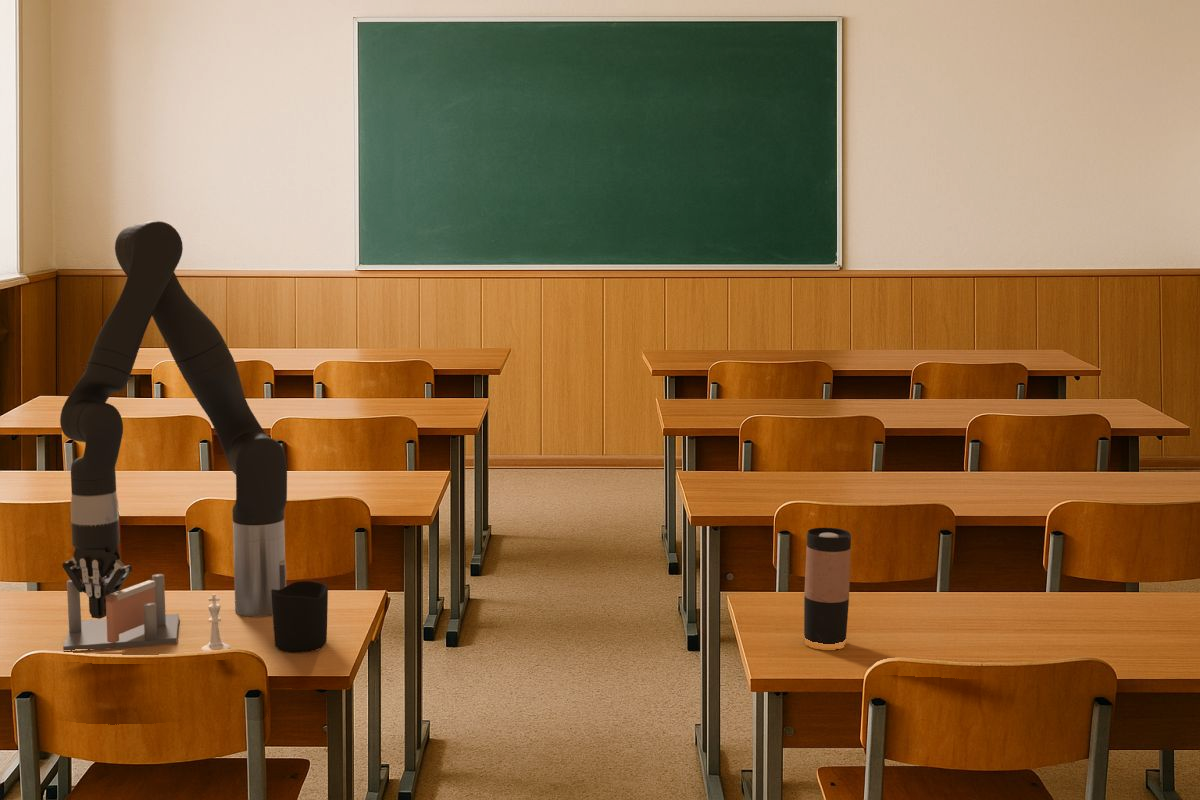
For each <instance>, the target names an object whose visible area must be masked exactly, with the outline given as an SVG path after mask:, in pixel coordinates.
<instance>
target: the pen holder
mask: <svg viewBox="0 0 1200 800" xmlns="http://www.w3.org/2000/svg"><path fill="white" fill-rule="evenodd" d="M271 595H272V611H273V615H272V623H273V624H272V625H273V637H274V638H273V639H274V646H275V647H276V648H277V650H278V651H281V652H284V653H291V654H301V653H309V652H314V651H317V650H320V649H322V648H323V647H325V645H326V644H327V639H328V637H327V636H328V611H329V610H328V607H329V606H328V603H329V602H328V601H329V600H328V598H329V588H328V585H326V584H325V583H322V582H319V581H313V580H311V581H309V580H301V581H295V582H292V583H289V584H287V585H286V587H284V588H283V589H280V590H275V589H272V590H271Z"/></svg>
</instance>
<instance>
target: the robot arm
mask: <svg viewBox="0 0 1200 800" xmlns="http://www.w3.org/2000/svg"><path fill="white" fill-rule="evenodd" d="M183 246H184V245H183V241H182V237H181V235H180V233H179V232H178V231H177V229H176V228H174V226H173V225H171V224H169V223H167V222H164V221H160V220H151V221H150V220H149V221H144V222H140V223H137V224H133V225H130V226H127V227H126V228H123V229H122V230H121V231H119V233H118V235H117V237H116V239H115V242H114V253H115V257H116V259H117V263H118V264H119V266H120V268H121V270H122V271H123V272H124V274H125V275H126V276H127V277H126V278H127V279H126V280H125V281H126V282H125V284H124V286H123V289H122V291H121V293H120V295H119V298H118V300H117V301H116V302H115V305H114V307H113V308H112V310H111V312H110V313H109V315H108V317H107V318H106V320H104V323H103V325H102V326H101V328H100V330H99V332H98V334H97V337H96V339H95V341H94V344H93V347H92V349H91V353H90V355H89V359H88V362H87V364H86V367H85V371H84V372H83V374H82V375H81V377H80V378H79V380H78V381H77V383H76V384H75V386H74V387H73V389H72V390H71V392H70V393H69V396H68V397H67V398H66V400H65V402H64V404H63V407H62V408H61V411H60V416H59V417H60V419H59V422H60V425H59V426H60V429H61V431H62V433H63V434H64V436H65V437H66V438H68V439H69V440H72V441H76V442H80V443H85V446H84V452H83V455H82V456H80V457H77V458H75V460H73V461H72V462H71V467H70V482H71V483H70V486H71V497H70V500H71V501H70V524H71V527H70V528H71V544H72V547H73V548H74V551H73V553H72V556H73V557H71V558H70V559H69V560H68V561H67V560H66V561H65V562H63V563H62V568H63V569H64V571H65V572H66V574H67V576H68V578H69V580H71V581H72V582H73V584H74V585H75V587H76V588H77V590H78V591H79V592H80V593H84V594H86V596H87V597H88V608H89V614H90V615H91V618H93V619H96V620H98V619H104V618H105V617H106V596H107V595H110V594H112V593H115V592H118V591H120V589H121V587H122V585H124V583H125V581H126V580H127V578H128V577H129V575H130V574H131V572H133V567H132V565H129V564H128V565H125V563H123V561H121V555H120V552H119V549H118V546H119V543H120V541H121V540H120V515H119V510H120V509H119V501H118V494H117V479H116V478H117V477H116V475H117V474H116V464H117V461H118V457H119V453H120V449H121V445H122V444H121V443H122V439H123V435H124V422H123V418H122V416H121V414H120V412H119V410H118V409H117V407H115V406H114V405H112V404H111V403H108V402H107V401H108V399H109V398H110V396H112V394H116V393H119V392H122V391H123V390H125V388H126V387H127V385H128V383H129V380H130V377H131V374H132V371H133V368H134V365H135V363H136V359H137V357H138V353H139V351H140V346H141V344H142V342H143V338H144V336H145V333H146V331H147V328H148V326H149V324H150V321H151V319H153V321H154V323H155V325H156V327H157V329H158V330H159V333H160V335H161V336H162V338H163V340H164V342H165V344H166V346H167V347H168V350H169V351H170V353H171V357H172V358H173V360H174V362H175V364H176V365H177V368H178V370H179V371H180V374H181V375H182V377H183V379H184V381H185V382H186V384H187V386H188V387H189V389H190V391H191V393H192V395H194V397H195V399H196V400H197V402H198V403H199V405H200V407H201V408H202V410H203V411H204V413H205V414H206V416H207V417H208V418H209V420H210V421H209V422H211V425H212V426H213V428H214V430H215V434H216V436H217V438H218V441H219V443H220V446H221V447H222V451H223V454H224V456H225V459H226V462H227V465H228V466H229V468H230V470H231V472H232V473H234V475H235V490H236V491H235V495H236V496H235V503H234V505H233V507H232V511H231V512H232V536H233V538H232V539H233V570H234V571H233V575H234V577H233V579H234V582H233V583H234V608H235V609H234V610H235V613H236V614H238V615H241V616H245V617H267V616H273V611H272V595H271V590H272V589H275V590H280V589H283V588H284V587H286V586H287V562H286V545H285V544H286V539H285V509H286V505H287V499H288V463H287V456H286V451H285V450H284V447H283V446H282V444H280V443H279V442H278V441H277V440H275V439H274V438H273V437H271V436H269V435H268V434H267V433H266V431H265V430H264V428H263V427H262V426H261V424H260V423H259V421H258V420H257V418H256V416H255V415H254V412H253V411H252V409H251V408H250V406H249V404H248V402H247V399H246V396H245V392H244V389H243V385H242V380H241V378H240V374H239V370H238V368H237V365H236V362H235V359H234V357H233V355H232V353H231V351H230V350H229V349H230V348H228V346H227V344H226V341H225V340H224V338H223V336H222V334H221V332H220V331H219V329H218V328H217V326H216V325H215V324H214V323H213V322H212V320H211V319H210V318H209V317H208V316H207V315H206V314H205V313H204V312H203V311H202V310H201V309H200V308H199V306H197V304H196V303H195V302H194V301H193V300H192V299H191V298H190V297H189V295H188V294H187V293H186V291H185V289H184V288H183V287H182V285H181V283H180V281H179V279H178V277H177V275H176V273H175V270H176V268H177V267H178V265H179V263H180V260H181V259H182V258H181V257H182V256H183Z"/></svg>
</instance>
